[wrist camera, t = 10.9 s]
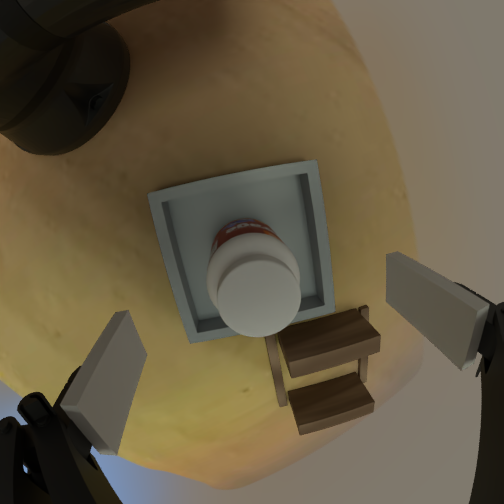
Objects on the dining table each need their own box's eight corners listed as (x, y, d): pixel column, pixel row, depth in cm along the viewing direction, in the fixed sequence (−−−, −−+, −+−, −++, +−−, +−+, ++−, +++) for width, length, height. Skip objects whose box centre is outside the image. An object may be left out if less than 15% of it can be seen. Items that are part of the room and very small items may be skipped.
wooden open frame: (264, 331, 29) (273, 366, 23) (366, 305, 29) (392, 330, 24) (278, 404, 32) (287, 438, 26) (364, 379, 33) (383, 407, 27)
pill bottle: (286, 225, 26) (330, 259, 15) (269, 287, 27) (296, 354, 16) (219, 209, 25) (216, 234, 14) (205, 274, 26) (194, 338, 15)
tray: (155, 191, 24) (147, 193, 21) (306, 161, 25) (316, 159, 22) (192, 327, 28) (190, 343, 25) (324, 298, 29) (335, 311, 26)
